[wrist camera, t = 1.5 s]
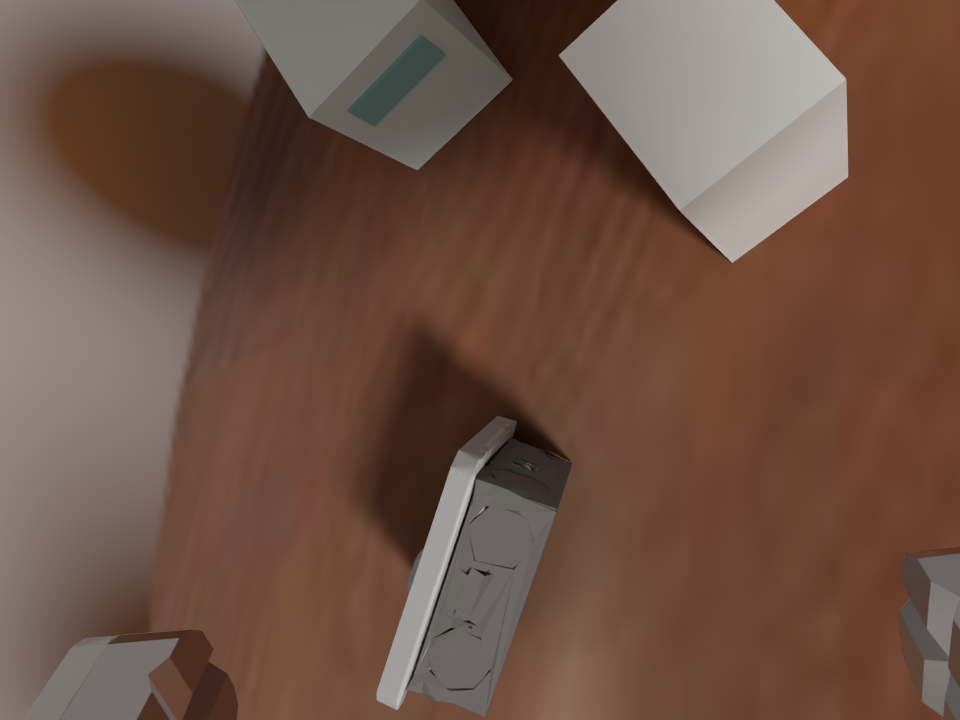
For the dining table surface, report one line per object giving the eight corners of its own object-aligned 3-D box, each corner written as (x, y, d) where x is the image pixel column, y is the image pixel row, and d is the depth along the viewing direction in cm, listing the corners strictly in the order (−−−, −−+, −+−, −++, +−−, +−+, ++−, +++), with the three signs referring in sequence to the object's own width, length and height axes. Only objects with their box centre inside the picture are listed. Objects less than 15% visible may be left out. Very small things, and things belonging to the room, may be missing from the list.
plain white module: (745, 59, 30) (698, -83, 21) (848, 177, 28) (846, 79, 19) (640, 146, 31) (555, 51, 22) (732, 263, 30) (679, 210, 21)
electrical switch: (502, 411, 34) (409, 431, 25) (612, 454, 32) (553, 493, 23) (438, 602, 35) (329, 685, 26) (541, 654, 33) (460, 761, 24)
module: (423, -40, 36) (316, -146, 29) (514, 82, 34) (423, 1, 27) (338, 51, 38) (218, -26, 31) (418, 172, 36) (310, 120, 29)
